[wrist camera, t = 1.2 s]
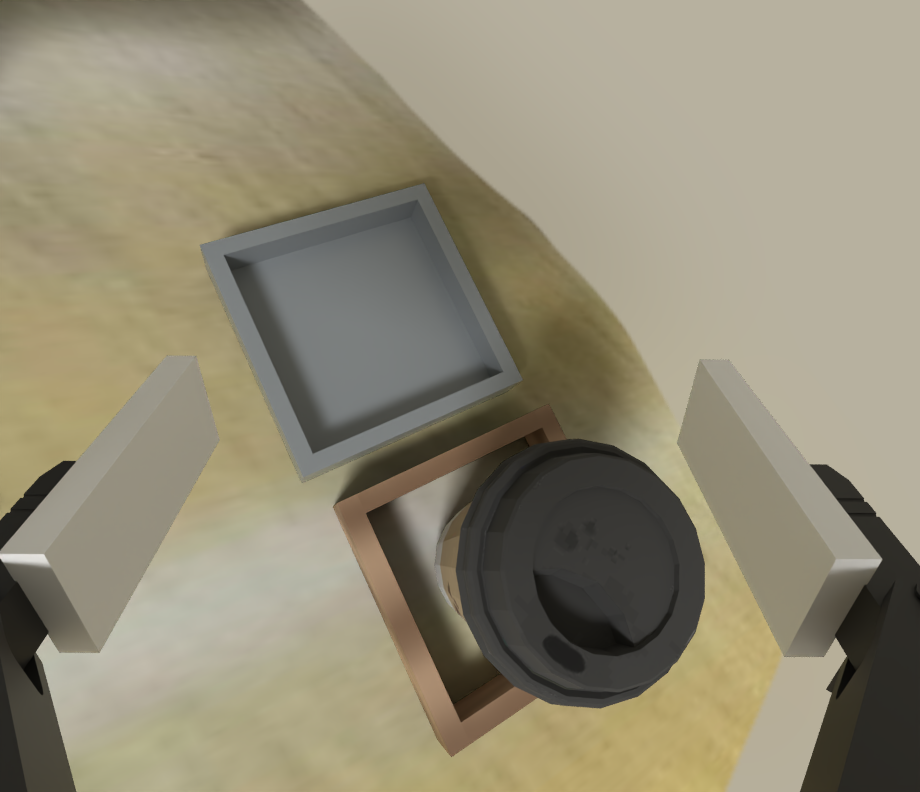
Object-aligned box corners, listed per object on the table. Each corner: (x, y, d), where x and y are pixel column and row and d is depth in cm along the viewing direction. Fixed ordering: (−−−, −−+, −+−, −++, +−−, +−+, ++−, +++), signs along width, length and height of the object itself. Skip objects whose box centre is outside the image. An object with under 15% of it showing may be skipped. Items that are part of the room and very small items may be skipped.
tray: (206, 268, 37) (199, 245, 34) (415, 207, 42) (424, 183, 40) (301, 483, 35) (303, 477, 33) (506, 391, 41) (523, 380, 38)
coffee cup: (363, 588, 35) (415, 611, 21) (465, 439, 39) (566, 375, 25) (513, 696, 36) (659, 787, 22) (597, 538, 40) (765, 530, 26)
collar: (333, 507, 35) (337, 502, 33) (530, 413, 41) (548, 403, 38) (437, 740, 34) (451, 757, 31) (629, 611, 39) (655, 616, 36)
